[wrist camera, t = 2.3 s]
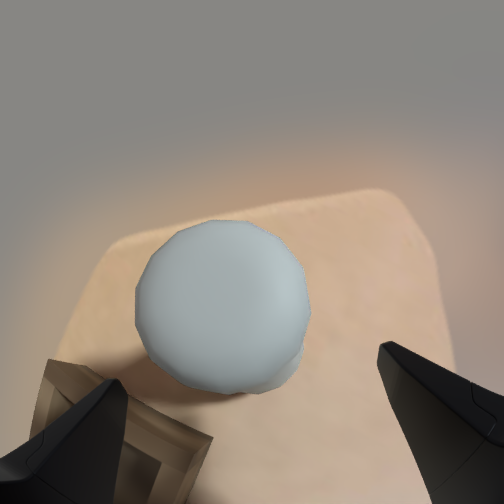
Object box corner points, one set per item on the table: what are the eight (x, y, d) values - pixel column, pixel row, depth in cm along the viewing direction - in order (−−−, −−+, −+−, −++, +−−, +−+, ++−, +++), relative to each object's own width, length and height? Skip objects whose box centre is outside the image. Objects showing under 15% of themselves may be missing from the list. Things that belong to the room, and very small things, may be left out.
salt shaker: (196, 359, 17) (58, 318, 5) (242, 291, 19) (188, 153, 7) (270, 407, 15) (254, 483, 4) (316, 333, 17) (391, 245, 6)
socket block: (168, 538, 10) (146, 563, 6) (58, 465, 13) (25, 471, 9) (213, 437, 15) (193, 454, 11) (85, 365, 17) (48, 358, 13)
